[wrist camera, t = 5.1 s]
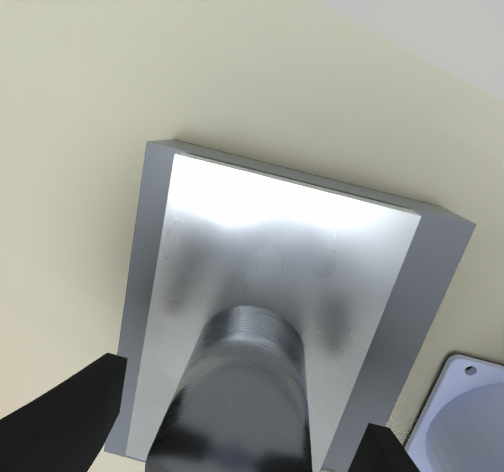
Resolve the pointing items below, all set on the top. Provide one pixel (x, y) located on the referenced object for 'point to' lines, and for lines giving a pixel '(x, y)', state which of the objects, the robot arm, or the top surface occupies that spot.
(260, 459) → the cylinder
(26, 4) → the top surface
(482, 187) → the top surface
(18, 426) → the robot arm
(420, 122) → the top surface
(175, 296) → the pan
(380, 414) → the base
